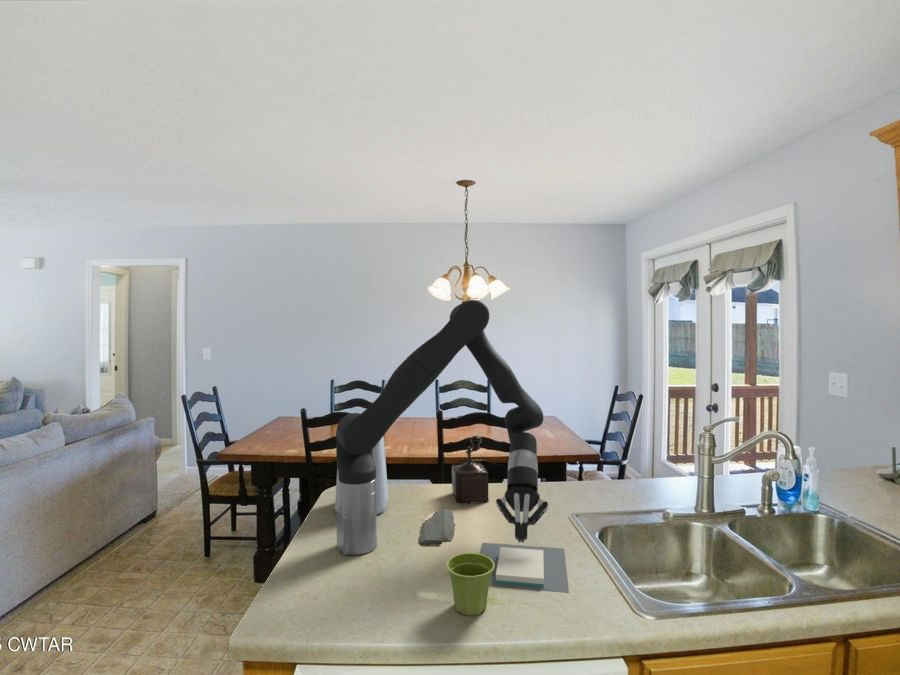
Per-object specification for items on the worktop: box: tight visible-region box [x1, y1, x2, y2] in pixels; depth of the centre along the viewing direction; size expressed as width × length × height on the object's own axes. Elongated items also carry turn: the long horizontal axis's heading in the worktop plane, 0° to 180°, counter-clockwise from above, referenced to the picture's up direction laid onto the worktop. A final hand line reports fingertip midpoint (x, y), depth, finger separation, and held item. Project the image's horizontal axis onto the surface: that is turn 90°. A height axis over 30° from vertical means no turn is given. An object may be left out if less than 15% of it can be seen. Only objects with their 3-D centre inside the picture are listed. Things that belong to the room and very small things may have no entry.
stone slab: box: [418, 508, 456, 545], centre depth 135 cm, size 22×3×10 cm
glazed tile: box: [496, 547, 544, 587], centre depth 109 cm, size 2×10×13 cm
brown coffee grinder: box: [451, 435, 490, 504], centre depth 160 cm, size 16×11×18 cm
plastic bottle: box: [334, 435, 389, 516], centre depth 149 cm, size 15×15×28 cm
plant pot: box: [446, 552, 495, 617], centre depth 96 cm, size 9×9×9 cm
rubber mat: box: [479, 542, 570, 594], centre depth 111 cm, size 20×20×1 cm
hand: (521, 540), depth 112 cm, fingers closed
